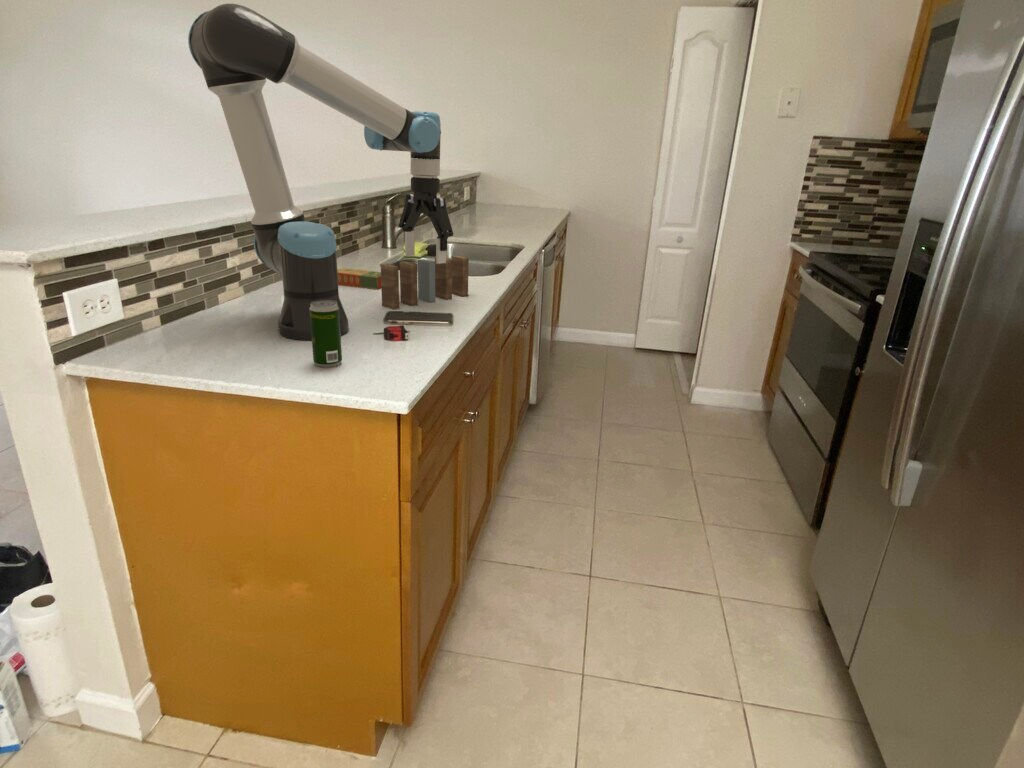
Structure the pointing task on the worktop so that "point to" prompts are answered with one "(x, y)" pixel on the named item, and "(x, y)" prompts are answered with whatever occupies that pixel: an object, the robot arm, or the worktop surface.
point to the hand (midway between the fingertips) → (425, 259)
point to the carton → (359, 278)
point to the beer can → (325, 333)
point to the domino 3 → (426, 280)
